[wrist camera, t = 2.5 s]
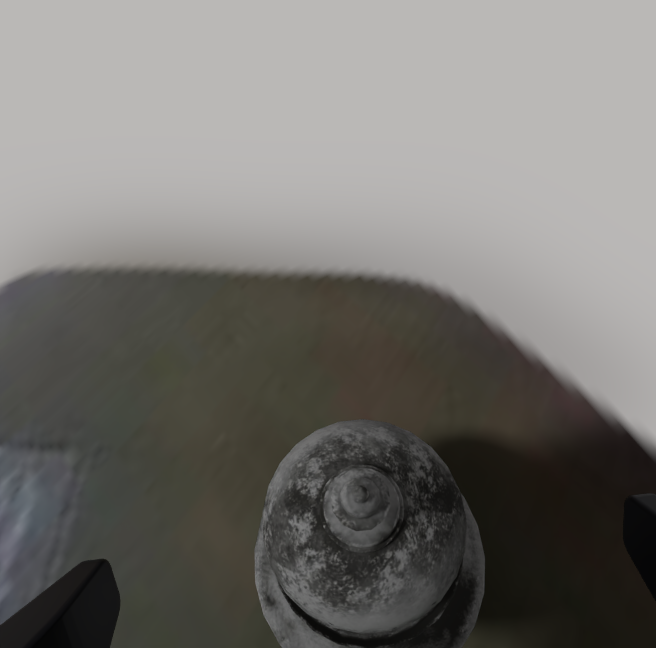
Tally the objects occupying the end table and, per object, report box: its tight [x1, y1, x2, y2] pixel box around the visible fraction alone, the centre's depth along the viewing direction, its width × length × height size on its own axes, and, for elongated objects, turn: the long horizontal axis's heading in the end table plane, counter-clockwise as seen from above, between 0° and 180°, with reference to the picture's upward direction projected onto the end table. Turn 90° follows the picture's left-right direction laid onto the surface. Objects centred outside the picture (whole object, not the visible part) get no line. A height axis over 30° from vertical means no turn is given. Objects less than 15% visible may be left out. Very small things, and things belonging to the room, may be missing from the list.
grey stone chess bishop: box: [255, 419, 485, 648], centre depth 11 cm, size 6×6×12 cm
